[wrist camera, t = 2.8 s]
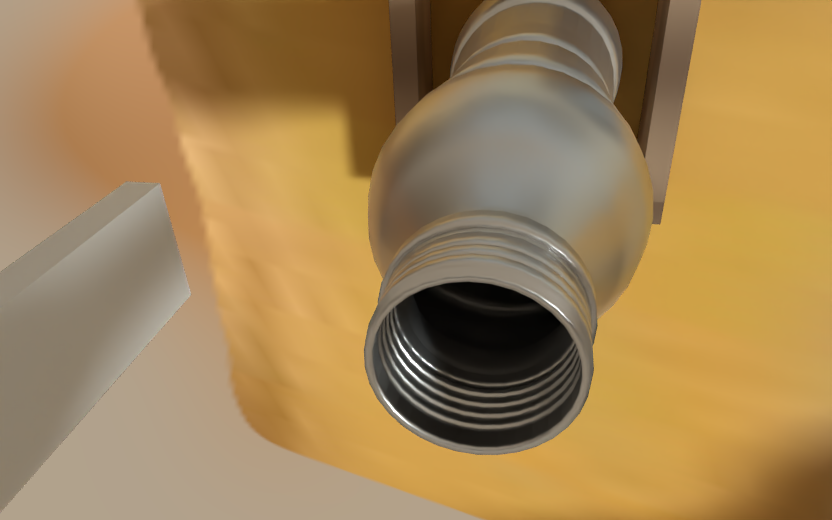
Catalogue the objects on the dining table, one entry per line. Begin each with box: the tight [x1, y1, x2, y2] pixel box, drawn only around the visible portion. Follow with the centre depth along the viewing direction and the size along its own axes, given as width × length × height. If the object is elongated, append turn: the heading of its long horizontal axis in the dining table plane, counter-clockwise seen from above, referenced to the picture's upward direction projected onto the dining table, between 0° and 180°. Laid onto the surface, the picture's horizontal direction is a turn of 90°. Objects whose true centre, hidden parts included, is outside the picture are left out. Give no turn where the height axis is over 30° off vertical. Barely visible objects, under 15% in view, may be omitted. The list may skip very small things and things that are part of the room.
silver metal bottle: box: [364, 0, 653, 455], centre depth 18 cm, size 6×7×20 cm
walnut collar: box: [389, 0, 701, 224], centre depth 25 cm, size 12×11×3 cm
